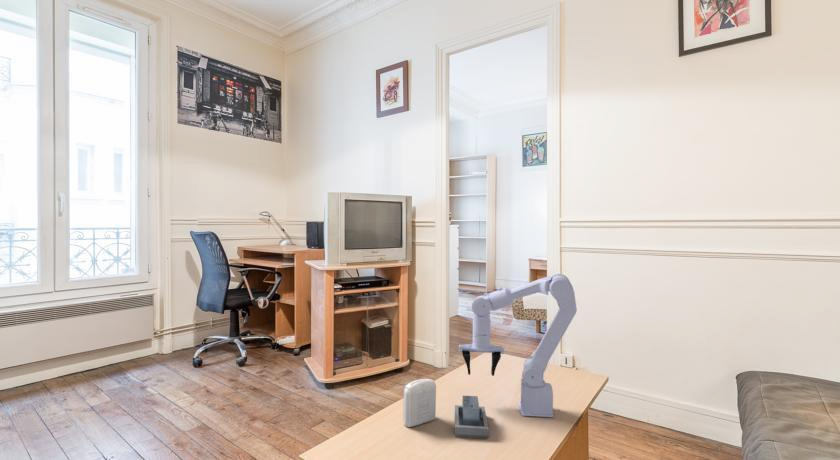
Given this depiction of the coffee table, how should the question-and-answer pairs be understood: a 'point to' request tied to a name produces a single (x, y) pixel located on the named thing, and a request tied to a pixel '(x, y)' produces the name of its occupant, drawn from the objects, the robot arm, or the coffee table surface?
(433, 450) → the coffee table surface
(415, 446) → the coffee table surface
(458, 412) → the lock cradle
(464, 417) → the block
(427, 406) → the photo printer
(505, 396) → the coffee table surface
